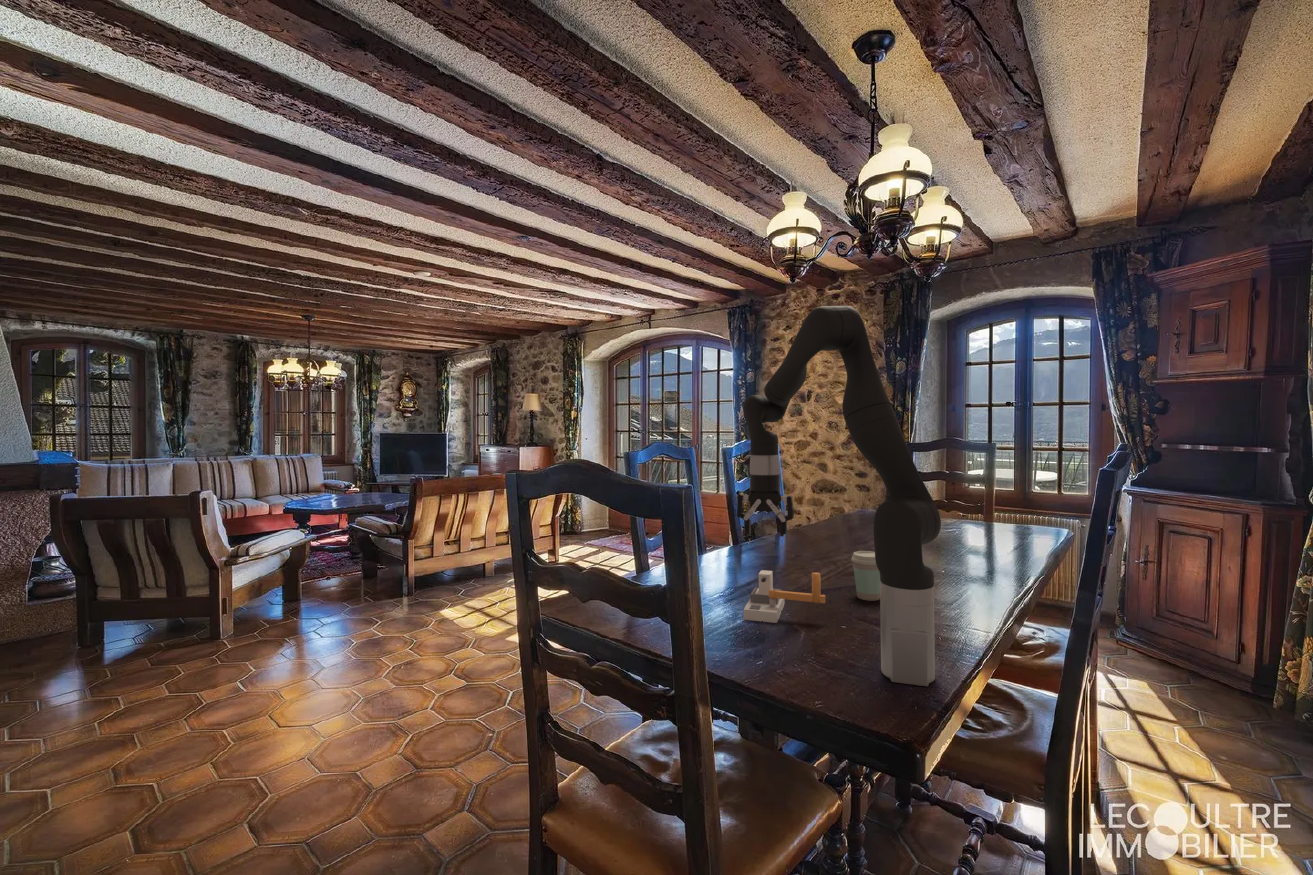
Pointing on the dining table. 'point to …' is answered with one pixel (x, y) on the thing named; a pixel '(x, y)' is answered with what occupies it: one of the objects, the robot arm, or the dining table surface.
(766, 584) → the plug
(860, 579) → the coffee cup
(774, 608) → the white stepped base
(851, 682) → the dining table surface
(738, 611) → the dining table surface
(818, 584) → the crank handle
